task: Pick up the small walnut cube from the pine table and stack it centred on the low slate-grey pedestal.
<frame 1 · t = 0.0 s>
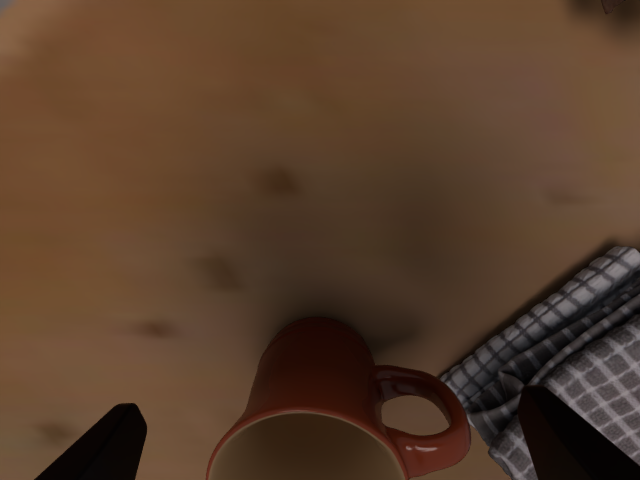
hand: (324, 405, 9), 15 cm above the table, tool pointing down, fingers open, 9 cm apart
towel: (599, 389, 26), on the table
mug: (342, 352, 26), on the table
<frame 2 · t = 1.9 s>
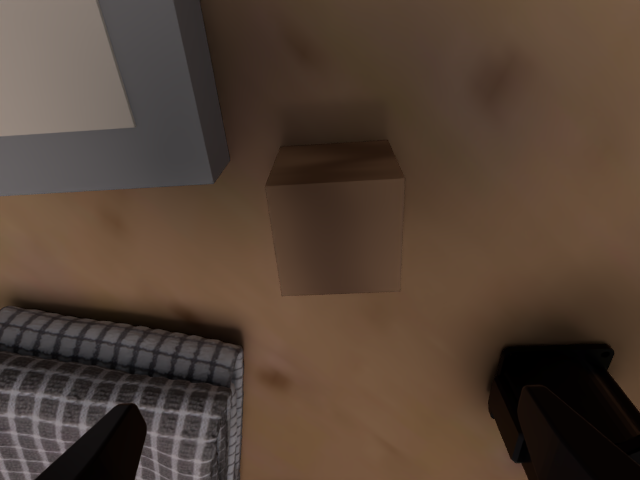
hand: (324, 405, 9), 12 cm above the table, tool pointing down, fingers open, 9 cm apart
walnut cube: (336, 192, 19), on the table
towel: (143, 401, 28), on the table
pedestal: (59, 28, 16), on the table
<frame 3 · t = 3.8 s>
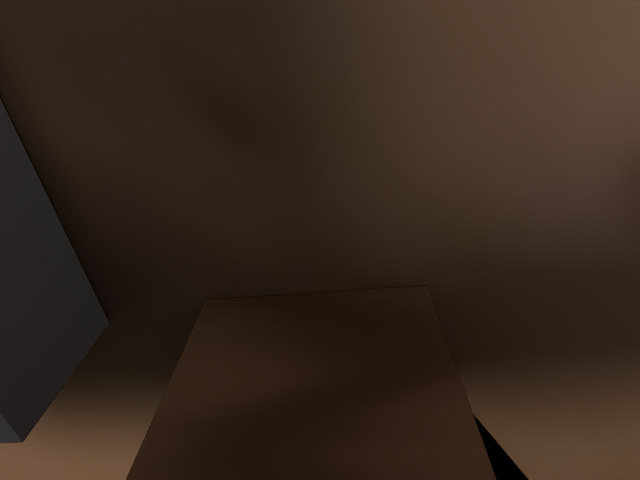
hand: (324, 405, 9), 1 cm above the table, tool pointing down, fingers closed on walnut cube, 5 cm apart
walnut cube: (324, 370, 10), on the table, touching gripper
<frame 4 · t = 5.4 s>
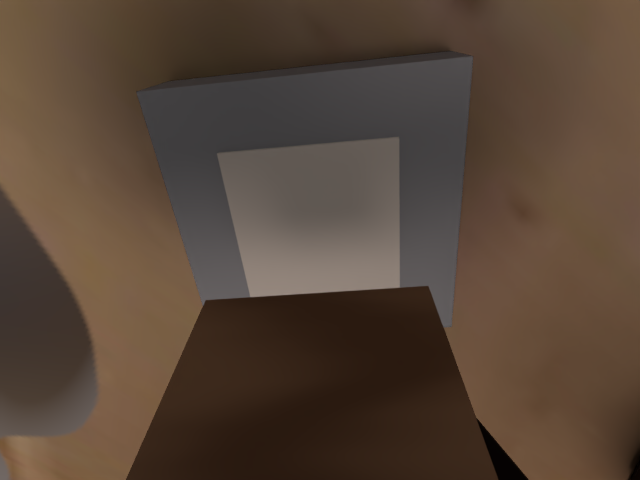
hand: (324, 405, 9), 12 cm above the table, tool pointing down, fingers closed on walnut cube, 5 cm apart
walnut cube: (325, 370, 10), point 11 cm above the table, touching gripper
pedestal: (319, 198, 19), on the table
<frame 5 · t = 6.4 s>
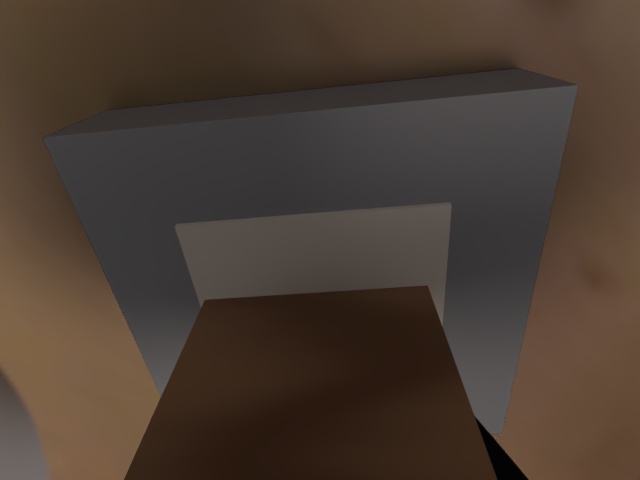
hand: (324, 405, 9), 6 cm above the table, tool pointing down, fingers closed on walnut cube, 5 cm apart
walnut cube: (324, 370, 10), point 5 cm above the table, touching gripper
pedestal: (324, 262, 14), on the table
when the fingers open (4 cm above the table, at t = 7.1 s): walnut cube stays where it is, resting on pedestal.
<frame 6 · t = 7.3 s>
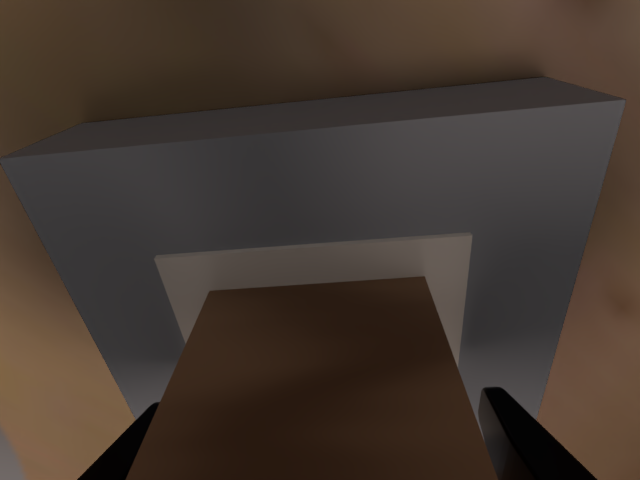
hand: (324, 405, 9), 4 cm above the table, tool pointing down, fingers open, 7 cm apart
walnut cube: (325, 360, 10), point 3 cm above the table, touching pedestal
pedestal: (325, 288, 13), on the table
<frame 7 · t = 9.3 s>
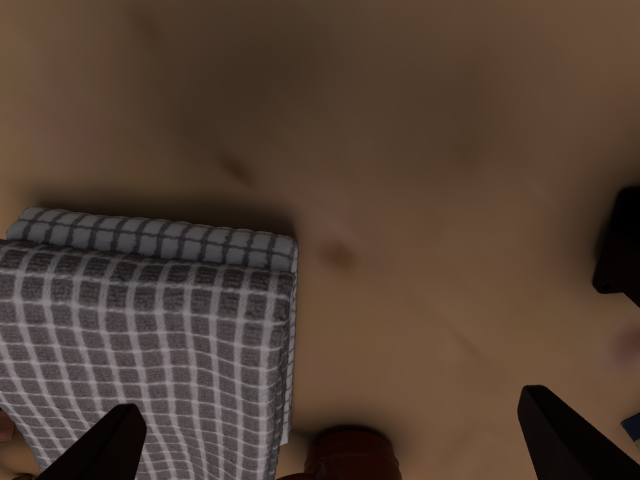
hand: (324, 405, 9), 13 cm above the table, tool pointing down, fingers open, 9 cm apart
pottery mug: (8, 440, 32), on the table
towel: (184, 328, 26), on the table
mug: (333, 442, 31), on the table
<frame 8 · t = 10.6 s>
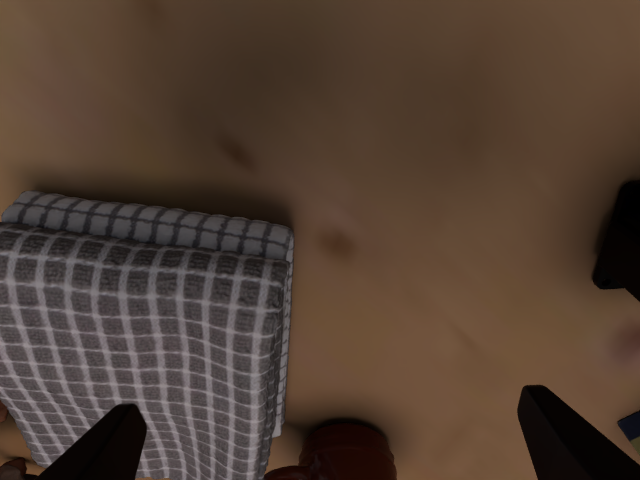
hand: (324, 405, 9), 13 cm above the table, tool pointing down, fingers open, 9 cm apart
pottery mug: (1, 422, 32), on the table
towel: (179, 318, 26), on the table
mug: (328, 435, 31), on the table
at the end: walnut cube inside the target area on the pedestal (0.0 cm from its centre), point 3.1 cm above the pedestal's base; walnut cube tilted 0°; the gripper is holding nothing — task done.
